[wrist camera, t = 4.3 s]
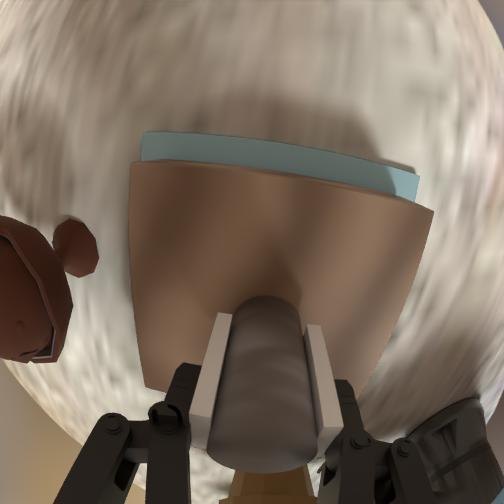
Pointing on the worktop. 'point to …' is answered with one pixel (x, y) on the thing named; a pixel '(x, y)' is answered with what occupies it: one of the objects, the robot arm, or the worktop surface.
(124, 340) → the worktop surface
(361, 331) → the lid
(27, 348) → the ice cream bowl
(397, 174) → the mat
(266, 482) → the flowerpot
